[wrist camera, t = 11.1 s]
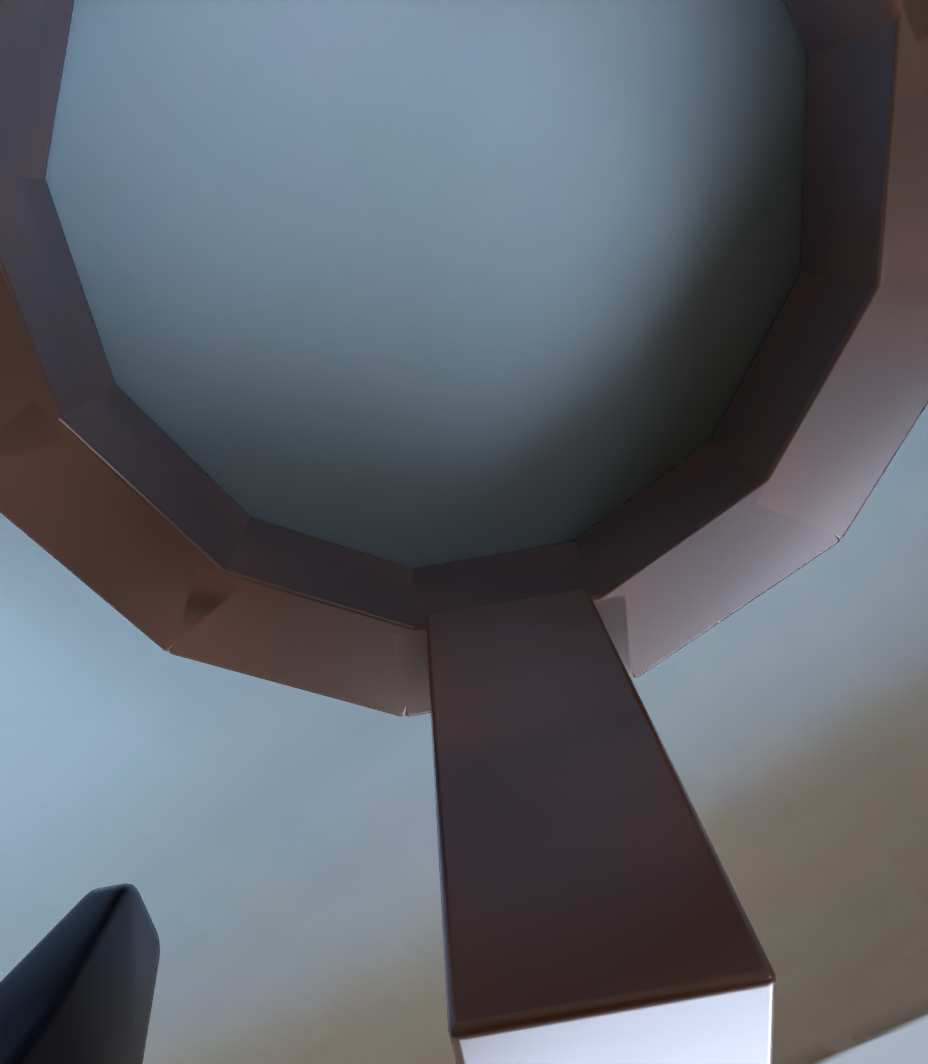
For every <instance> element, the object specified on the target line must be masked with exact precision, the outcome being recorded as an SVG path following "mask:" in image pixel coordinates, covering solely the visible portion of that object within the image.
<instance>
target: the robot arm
mask: <svg viewBox="0 0 928 1064" xmlns="http://www.w3.org/2000/svg"><path fill="white" fill-rule="evenodd" d="M159 956H160V945H159V938H158V934H157V931H156V929H155V927H154V924H153V922H152V920H151V918H150V916H149V914H148V911H147V909H146V907H145V905H144V903H143V900H142V898H141V896H140V894H139V892H138V890H137V889H136V888H135V887H134V886H133V885H131V884H120V885H114V886H109V887H103V888H97V889H95V890H92V891H91V892H89V893H88V894H87V895H86V896H85V897H84V898H83V899H82V900H81V901H80V902H79V903H78V904H77V905H76V906H75V907H74V908H73V909H72V910H71V911H70V912H69V913H68V914H67V915H66V916H65V917H64V918H63V919H62V920H61V921H60V922H59V923H58V924H57V925H56V926H55V927H54V928H53V929H52V930H51V931H50V932H49V933H48V934H47V935H46V936H45V937H44V938H43V939H42V940H41V941H40V942H39V943H38V944H37V945H36V946H35V947H34V949H33V950H32V951H31V952H30V953H29V954H28V955H27V956H26V957H25V958H24V959H23V960H22V961H21V962H20V963H19V964H18V965H17V966H16V967H15V968H14V969H13V970H12V971H11V972H10V973H9V974H8V975H7V976H6V977H5V978H4V979H3V980H2V981H1V982H0V1064H142V1062H143V1055H144V1049H145V1043H146V1037H147V1031H148V1025H149V1018H150V1012H151V1006H152V1000H153V994H154V988H155V981H156V975H157V969H158V963H159Z"/></svg>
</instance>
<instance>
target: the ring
mask: <svg viewBox="0 0 928 1064" xmlns="http://www.w3.org/2000/svg"><path fill="white" fill-rule="evenodd" d="M783 1H784V3H785V5H786V7H787V9H788V12H789V14H790V16H791V18H792V20H793V22H794V24H795V26H796V28H797V30H798V32H799V34H800V36H801V38H802V40H803V42H804V44H805V46H806V48H807V50H808V53H809V61H808V88H807V115H806V142H805V170H804V197H803V224H802V251H801V273H800V275H799V277H798V279H797V281H796V283H795V285H794V287H793V288H792V290H791V292H790V294H789V296H788V298H787V300H786V302H785V304H784V305H783V307H782V309H781V311H780V313H779V315H778V317H777V319H776V320H775V322H774V324H773V326H772V328H771V330H770V332H769V334H768V335H767V337H766V339H765V341H764V343H763V345H762V347H761V349H760V351H759V352H758V354H757V356H756V358H755V360H754V362H753V364H752V366H751V367H750V369H749V371H748V373H747V375H746V377H745V379H744V381H743V382H742V384H741V386H740V388H739V390H738V392H737V394H736V396H735V398H734V399H733V401H732V403H731V405H730V407H729V409H728V411H727V413H726V414H725V416H724V418H723V420H722V422H721V424H720V426H719V428H718V429H717V431H716V433H715V435H714V437H713V439H712V440H711V441H710V442H708V443H707V444H706V445H704V446H703V447H702V448H700V449H699V450H697V451H696V452H695V453H693V454H692V455H691V456H689V457H688V458H686V459H685V460H684V461H682V462H681V463H680V464H678V465H677V466H676V467H674V468H673V469H671V470H670V471H669V472H667V473H666V474H665V475H663V476H662V477H660V478H659V479H658V480H656V481H655V482H654V483H652V484H651V485H649V486H648V487H647V488H645V489H644V490H643V491H641V492H640V493H639V494H637V495H636V496H634V497H633V498H632V499H630V500H629V501H628V502H626V503H625V504H623V505H622V506H621V507H619V508H618V509H617V510H615V511H614V512H613V513H611V514H610V515H608V516H607V517H606V518H604V519H603V520H602V521H600V522H599V523H597V524H596V525H595V526H593V527H592V528H591V529H589V530H588V531H586V532H585V533H584V534H582V535H581V536H580V537H578V538H577V539H576V540H574V541H573V542H568V543H562V544H556V545H550V546H544V547H538V548H532V549H526V550H520V551H514V552H508V553H502V554H496V555H490V556H484V557H478V558H472V559H466V560H460V561H454V562H448V563H442V564H436V565H430V566H424V567H418V568H410V567H407V566H403V565H400V564H397V563H394V562H391V561H388V560H385V559H381V558H378V557H375V556H372V555H369V554H366V553H363V552H359V551H356V550H353V549H350V548H347V547H344V546H341V545H337V544H334V543H331V542H328V541H325V540H322V539H318V538H315V537H312V536H309V535H306V534H303V533H300V532H296V531H293V530H290V529H287V528H284V527H281V526H278V525H274V524H271V523H268V522H265V521H262V520H259V519H256V518H252V517H250V516H249V515H248V514H247V513H246V512H245V511H244V510H243V509H242V508H241V507H240V506H239V505H238V504H237V503H236V502H235V501H234V500H233V499H232V498H231V497H230V496H229V495H228V494H227V493H226V492H225V491H224V490H223V489H222V488H221V487H220V486H218V485H217V484H216V483H215V482H214V481H213V480H212V479H211V478H210V477H209V476H208V475H207V474H206V473H205V472H204V471H203V470H202V469H201V468H200V467H199V466H198V465H197V464H196V463H195V462H194V461H193V460H192V459H191V458H190V457H189V456H188V455H187V454H186V453H185V452H184V451H183V450H182V449H181V448H180V447H179V446H178V445H177V444H176V443H175V442H174V441H173V440H172V439H170V438H169V437H168V436H167V435H166V434H165V433H164V432H163V431H162V430H161V429H160V428H159V427H158V426H157V425H156V424H155V423H154V422H153V421H152V420H151V419H150V418H149V417H148V416H147V415H146V414H145V413H144V412H143V411H142V410H141V409H140V408H139V407H138V406H137V405H136V404H135V403H134V402H133V401H132V400H131V399H130V398H129V397H128V396H127V395H126V394H125V393H124V392H123V391H121V390H120V389H119V388H118V387H117V386H116V385H115V382H114V379H113V376H112V373H111V370H110V367H109V364H108V361H107V358H106V355H105V352H104V350H103V347H102V344H101V341H100V338H99V335H98V332H97V329H96V326H95V323H94V320H93V317H92V315H91V312H90V309H89V306H88V303H87V300H86V297H85V294H84V291H83V288H82V285H81V282H80V279H79V277H78V274H77V271H76V268H75V265H74V262H73V259H72V256H71V253H70V250H69V247H68V244H67V242H66V239H65V236H64V233H63V230H62V227H61V224H60V221H59V218H58V215H57V212H56V209H55V206H54V204H53V201H52V198H51V195H50V192H49V189H48V186H47V183H46V180H45V173H46V167H47V161H48V155H49V149H50V143H51V137H52V131H53V125H54V119H55V113H56V107H57V101H58V95H59V89H60V83H61V77H62V71H63V65H64V59H65V53H66V47H67V41H68V35H69V29H70V23H71V17H72V11H73V4H74V0H0V512H1V513H2V514H3V515H4V516H5V517H7V518H8V519H9V520H10V521H11V522H12V523H14V524H15V525H16V526H17V527H18V528H20V529H21V530H22V531H23V532H24V533H26V534H27V535H28V536H29V537H30V538H31V539H33V540H34V541H35V542H36V543H37V544H39V545H40V546H41V547H42V548H43V549H45V550H46V551H47V552H48V553H49V554H50V555H52V556H53V557H54V558H55V559H56V560H58V561H59V562H60V563H61V564H62V565H64V566H65V567H66V568H67V569H68V570H69V571H71V572H72V573H73V574H74V575H75V576H77V577H78V578H79V579H80V580H81V581H83V582H84V583H85V584H86V585H87V586H88V587H90V588H91V589H92V590H93V591H94V592H96V593H97V594H98V595H99V596H100V597H102V598H103V599H104V600H105V601H106V602H107V603H109V604H110V605H111V606H112V607H113V608H115V609H116V610H117V611H118V612H119V613H121V614H122V615H123V616H124V617H125V618H126V619H128V620H129V621H130V622H131V623H132V624H134V625H135V626H136V627H137V628H138V629H140V630H141V631H142V632H143V633H144V634H145V635H147V636H148V637H149V638H150V639H151V640H153V641H154V642H155V643H156V644H157V645H159V646H160V647H161V648H162V649H163V650H165V651H168V650H169V652H170V653H171V654H173V655H177V656H181V657H184V658H188V659H192V660H195V661H199V662H203V663H207V664H210V665H214V666H218V667H221V668H225V669H229V670H232V671H236V672H240V673H243V674H247V675H251V676H254V677H258V678H262V679H265V680H269V681H273V682H276V683H280V684H284V685H287V686H291V687H295V688H299V689H302V690H306V691H310V692H313V693H317V694H321V695H324V696H328V697H332V698H335V699H339V700H343V701H346V702H350V703H354V704H357V705H361V706H365V707H368V708H372V709H376V710H379V711H383V712H387V713H391V714H394V715H398V716H404V715H406V716H415V715H421V714H426V713H431V724H432V742H433V760H434V778H435V796H436V815H437V833H438V851H439V869H440V887H441V905H442V923H443V942H444V960H445V978H446V996H447V1014H448V1031H449V1035H450V1039H451V1043H452V1047H453V1051H454V1056H455V1060H456V1064H773V1044H774V1018H775V991H776V977H775V972H774V970H773V968H772V966H771V964H770V962H769V960H768V958H767V956H766V954H765V952H764V950H763V948H762V946H761V944H760V942H759V940H758V938H757V936H756V933H755V931H754V929H753V927H752V925H751V923H750V921H749V919H748V917H747V915H746V913H745V911H744V909H743V907H742V905H741V903H740V901H739V899H738V897H737V895H736V893H735V891H734V888H733V886H732V884H731V882H730V880H729V878H728V876H727V874H726V872H725V870H724V868H723V866H722V864H721V862H720V860H719V858H718V856H717V854H716V852H715V850H714V848H713V845H712V843H711V841H710V839H709V837H708V835H707V833H706V831H705V829H704V827H703V825H702V823H701V821H700V819H699V817H698V815H697V813H696V811H695V809H694V807H693V805H692V803H691V800H690V798H689V796H688V794H687V792H686V790H685V788H684V786H683V784H682V782H681V780H680V778H679V776H678V774H677V772H676V770H675V768H674V766H673V764H672V762H671V760H670V757H669V755H668V753H667V751H666V749H665V747H664V745H663V743H662V741H661V739H660V737H659V735H658V733H657V731H656V729H655V727H654V725H653V723H652V721H651V719H650V717H649V715H648V712H647V710H646V708H645V706H644V704H643V702H642V700H641V698H640V696H639V694H638V692H637V690H636V688H635V686H634V684H633V682H632V680H631V679H632V678H633V677H639V676H640V675H642V674H643V673H645V672H646V671H648V670H649V669H651V668H652V667H654V666H655V665H657V664H658V663H660V662H661V661H663V660H664V659H666V658H667V657H669V656H670V655H672V654H673V653H675V652H676V651H678V650H679V649H681V648H682V647H684V646H685V645H687V644H688V643H690V642H691V641H693V640H694V639H695V638H697V637H698V636H700V635H701V634H703V633H704V632H706V631H707V630H709V629H710V628H712V627H713V626H715V625H716V624H718V623H719V622H721V621H722V620H724V619H725V618H727V617H728V616H730V615H731V614H733V613H734V612H736V611H737V610H739V609H740V608H742V607H743V606H745V605H746V604H748V603H749V602H751V601H752V600H754V599H755V598H756V597H758V596H759V595H761V594H762V593H764V592H765V591H767V590H768V589H770V588H771V587H773V586H774V585H776V584H777V583H779V582H780V581H782V580H783V579H785V578H786V577H788V576H789V575H791V574H792V573H794V572H795V571H797V570H798V569H800V568H801V567H803V566H804V565H806V564H807V563H809V562H810V561H812V560H813V559H815V558H816V557H817V556H819V555H820V554H822V553H823V552H825V551H826V550H828V549H829V548H831V547H832V546H834V545H835V544H837V543H838V542H839V538H840V539H841V538H842V537H843V536H844V535H845V533H846V532H847V530H848V528H849V527H850V525H851V524H852V522H853V521H854V519H855V517H856V516H857V514H858V513H859V511H860V509H861V508H862V506H863V505H864V503H865V501H866V500H867V498H868V497H869V495H870V494H871V492H872V490H873V489H874V487H875V486H876V484H877V482H878V481H879V479H880V478H881V476H882V475H883V473H884V471H885V470H886V468H887V467H888V465H889V463H890V462H891V460H892V459H893V457H894V456H895V454H896V452H897V451H898V449H899V448H900V446H901V444H902V443H903V441H904V440H905V438H906V437H907V435H908V433H909V432H910V430H911V429H912V427H913V425H914V424H915V422H916V421H917V419H918V418H919V416H920V414H921V413H922V411H923V410H924V408H925V406H926V405H927V403H928V0H783Z"/></svg>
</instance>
